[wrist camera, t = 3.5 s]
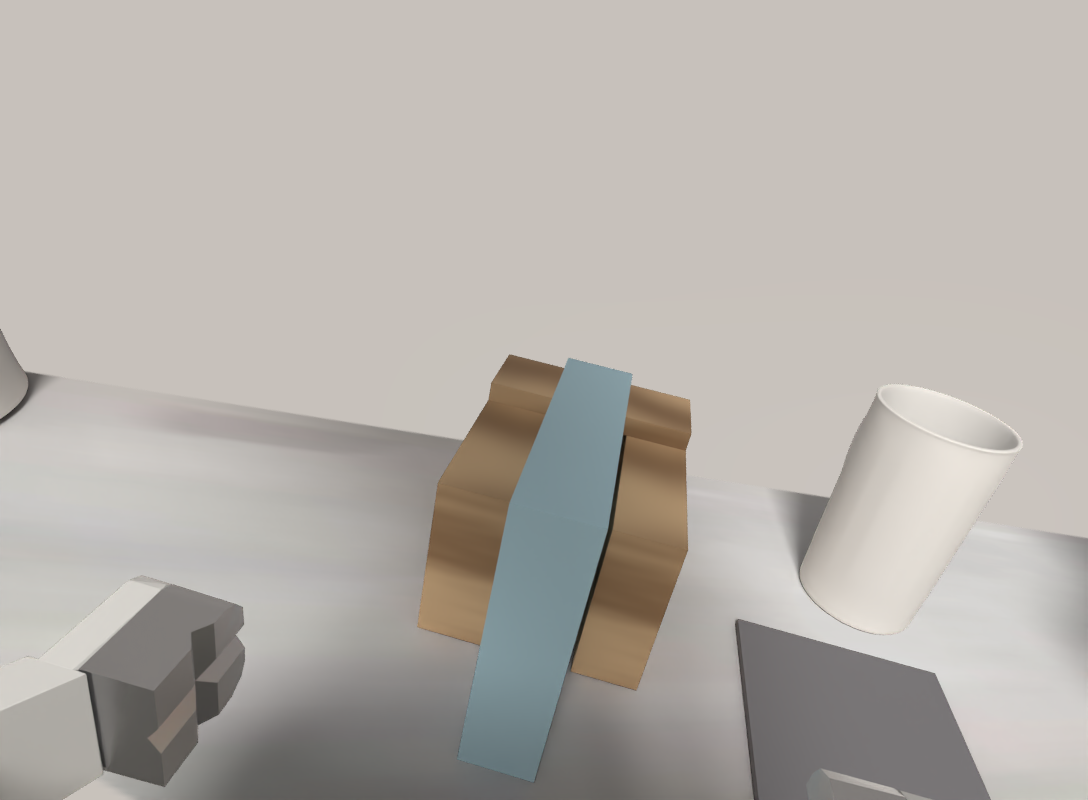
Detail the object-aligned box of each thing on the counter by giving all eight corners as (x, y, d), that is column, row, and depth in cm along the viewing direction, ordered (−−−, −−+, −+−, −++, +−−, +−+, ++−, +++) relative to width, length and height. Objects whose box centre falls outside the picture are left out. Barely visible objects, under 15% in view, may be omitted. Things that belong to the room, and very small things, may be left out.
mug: (935, 651, 35) (1054, 464, 30) (813, 627, 35) (911, 435, 30) (866, 534, 44) (949, 374, 39) (769, 514, 44) (838, 351, 39)
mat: (1082, 1027, 21) (1089, 1022, 21) (768, 929, 22) (772, 923, 22) (931, 678, 34) (934, 673, 33) (735, 624, 34) (738, 618, 34)
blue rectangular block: (533, 782, 25) (608, 529, 19) (456, 759, 25) (509, 502, 20) (576, 574, 36) (632, 374, 30) (523, 559, 36) (568, 357, 30)
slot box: (636, 690, 29) (695, 530, 25) (417, 627, 30) (441, 461, 26) (647, 530, 40) (689, 399, 36) (485, 486, 41) (509, 354, 37)
